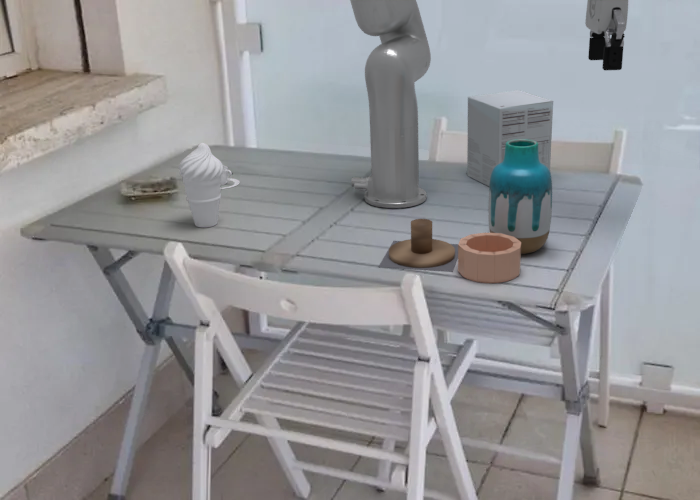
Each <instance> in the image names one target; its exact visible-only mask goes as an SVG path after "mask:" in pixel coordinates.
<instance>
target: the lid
mask: <svg viewBox="0 0 700 500" xmlns="http://www.w3.org/2000/svg"><path fill="white" fill-rule="evenodd" d="M399 241H400V242H398V243H395V244H394V245H392V246H391V245H390V246H391V247H390V246H389V247H388V249H389V258H390V260H391V261H393V262H394V263H396V264H398V265H402V266H406V267H412V268H430V267H437V266H441V265H445V264H447V263H449V262H451V261H452V260H453V259H454V257H455V248H454V247H453V246H452V245H451V244H452V243H449V242H447V241H444V240H441V239H437V238H436V239H434V238H433V221H432V220H431V219H427V218H417V219H412V220H411V221H410V239H405V240H399Z"/></svg>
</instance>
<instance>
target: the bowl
mask: <svg viewBox="0 0 700 500" xmlns="http://www.w3.org/2000/svg"><path fill="white" fill-rule="evenodd" d="M457 244H458V259H457V272H459V275H460V276H461V277H463V278H464V279H467V280H468V281H472V282H476V283H484V284H497V283H498V284H500V283H505V282H509V281H512V280H514V279H516V278H517V277H518V276H519V275H520V272H521V267H522V266H521V265H522V263H521V262H522V254H521V242H520V241H519V240H518V239H516V238H515V237H513V236H509V235H505V234H502V233H490V232H479V233H472V234H468V235H467V236H466V235H465V236H464V237H462V238H460V239H459V242H458V243H457Z"/></svg>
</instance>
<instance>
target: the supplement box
mask: <svg viewBox="0 0 700 500" xmlns="http://www.w3.org/2000/svg"><path fill="white" fill-rule="evenodd" d="M553 111H554V100H552V99H549V98H545V97H543V96H542V97H541V96H538V95H535V94H532V93H530V92H526V91H524V90H521V89H516V90H509V91H507V90H506V91H501V92H494V93H485V94H478V95H471V96H467V146H466V148H467V151H466V152H467V153H466V155H467V158H466V159H467V161H466V162H467V164H466V166H467V167H466V170H467V171H466V175H467V177H470V178H472V179H474V180H475V181H478V182H479V183H481V184H483V185H485V186H486V187H489V185H490V177H491V173H492V171H493V169H494V167H495V166H496V165H498V164H500V163H502V162H503V160H504V155H505V145H506V142H508V141H510V140H514V139H529V140H533V141H536V142H537V143H538V151H539V161H540V163H542V164H544V165H545V166H547V168H548V169H549V171H550V172H551V159H552V158H551V157H552V154H551V153H552V133H553V114H554V113H553Z"/></svg>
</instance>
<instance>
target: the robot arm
mask: <svg viewBox="0 0 700 500" xmlns="http://www.w3.org/2000/svg"><path fill="white" fill-rule="evenodd" d="M349 1H350V4H351V9H352V12H353V15H354V18H355V21H356V23H357V26H358V28H359V30H361V32H362V33H364V34H366V36H371V37H379V40H380V44H379V45H377V46H376V47H375V48H374V49H372V51H371V52H370V54H369V55H368V56H367V59H366V61H365V67H364V79H365V87H366V91H367V97H368V98H367V99H368V108H369V109H368V112H369V132H370V133H369V136H370V141H369V142H370V163H371V164H370V167H371V168H370V173H371V175H370V176H367V177H357V176H355V177H353V176H352V177H351V182H350V185H351V187H353V188H354V190H365V191H366V192H364V195H363V196H364V201H365V202H366V203H367V204H369V205H371V206H374V207H378V208H385V209H403V208H411V207H414V206H418V205H420V204H422V203H424V202H425V201H426V200H427V191H426V190H425V189H423V188H421V187H420V186H419V185H420V180H419V179H420V178H419V172H420V171H419V170H420V169H419V165H420V163H419V159H420V158H419V157H420V156H419V154H420V153H419V110H418V109H419V107H418V100H417V94H416V87H415V82H417V81H419V80H420V79H421V78H423V77H424V76H425V75H426V73H427V72H428V70H429V69H430V66H431V61H432V60H431V59H432V58H431V49H430V44H429V41H428V37H427V34H426V30H425V26H424V23H423V19H422V17H421V12H420V8H419V6H418V2H417V0H349ZM628 13H629V0H587V4H586V13H585V22H584V23H585V26H586V28H587V29H588V30H590V31H589V42H588V56H587V57H588V58H587V59H588V60H590V61H602V70H603V71H620V70H622V69H623V68H622V67H623V60H624V59H623V58H624V57H623V56H624V45H625V39H624V38H625V34H624V33H625V31H626V29H627V24H628Z"/></svg>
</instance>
